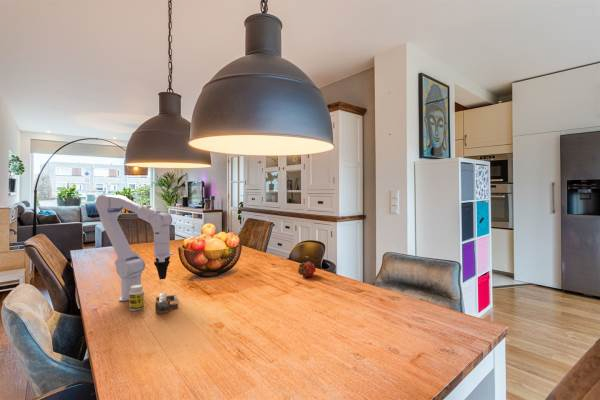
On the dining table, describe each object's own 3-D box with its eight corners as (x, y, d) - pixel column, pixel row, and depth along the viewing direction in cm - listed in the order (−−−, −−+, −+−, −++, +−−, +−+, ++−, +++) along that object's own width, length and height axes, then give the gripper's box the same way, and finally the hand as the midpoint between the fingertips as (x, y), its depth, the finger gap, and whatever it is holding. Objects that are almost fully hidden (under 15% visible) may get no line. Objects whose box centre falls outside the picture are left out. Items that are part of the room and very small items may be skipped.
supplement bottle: (127, 311, 110) (127, 288, 110) (131, 307, 115) (130, 284, 115) (142, 310, 111) (141, 287, 111) (145, 305, 116) (144, 283, 116)
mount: (156, 300, 121) (156, 290, 121) (176, 298, 124) (176, 288, 124) (155, 313, 108) (155, 302, 108) (177, 310, 111) (177, 299, 111)
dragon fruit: (300, 282, 151) (309, 280, 162) (314, 274, 149) (322, 272, 160) (292, 267, 154) (301, 266, 165) (305, 259, 152) (313, 258, 163)
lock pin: (158, 299, 118) (158, 291, 118) (167, 298, 120) (167, 290, 120) (157, 311, 106) (157, 302, 106) (167, 310, 108) (167, 301, 108)
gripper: (172, 244, 117) (173, 279, 117) (172, 240, 130) (173, 271, 130) (152, 246, 114) (153, 282, 114) (154, 241, 127) (155, 273, 127)
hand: (162, 276), depth 122 cm, fingers open, 7 cm apart
